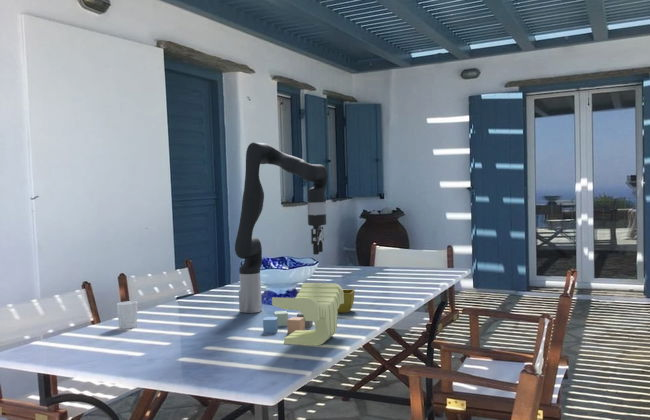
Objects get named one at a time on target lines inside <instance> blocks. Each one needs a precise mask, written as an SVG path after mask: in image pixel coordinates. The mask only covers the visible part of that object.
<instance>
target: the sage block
mask: <svg viewBox="0 0 650 420" xmlns="http://www.w3.org/2000/svg"><path fill="white" fill-rule="evenodd" d="M273 314H274V315H273V317H278V327H287V320H288V319H289V316H288V314H289V313H288V311H287V310H277V311H276V310H275V311H274V312H273Z"/></svg>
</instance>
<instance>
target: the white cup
mask: <svg viewBox="0 0 650 420" xmlns="http://www.w3.org/2000/svg"><path fill="white" fill-rule="evenodd" d="M116 308H117V309H116V311H117V319H118V323H119V325H118V327H119V329H120V330H121V329H122V330H129V329H134V328H136V327H138V325H137V324H138V323H137V322H138V301H137V300H129V301H128V300H126V301H120V302H118V303H116Z"/></svg>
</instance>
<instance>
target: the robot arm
mask: <svg viewBox="0 0 650 420" xmlns="http://www.w3.org/2000/svg"><path fill="white" fill-rule="evenodd" d="M245 153H246V154H245V173H244V174H245V175H244V184H243V186H244V187H243V194H242V199H241V211H240V218H239V224H238V229H237V234H236V237H235V242H234V252H235V254H236V257H238V258H239V259H243V260H244V261H243V263H242V265H240V267H239V269H238V270H239V290H238V304H239V305H238V307H239V308H238V309H239V313H243V314H253V313H254V314H255V313H259V312H262V310H263V307H262V306H263V305H262V286H261V285H262V281H261V279H262V278H261V268H262V263H263V261H262V258H263V256H262V255H263V254H262V253H263V252H262V251H263V248H262V243H261V241H260V240H259V238H258V237H256V236H253V232H254V227H255V225H256V223H257V222H258V220H259V218H260V216H261V214H262V211H263V208H264V200H265V192H264V188H263V185H262V183H261V180H260V165H273V166H277V167H280V168H281V169H282V170H284V171H285V172H287V173H290V174H293V175H294V176H298V177H299V178H301V179H302V180H304V181H306V182H312V183H313V184H312V187H309V188H308V190H307V224H308V226H312V228H311V229H310V231H311V232H310V234H311V237H310V238H311V245H312V252H313V253H312V254H313V255H319V254H320V253H322V252H323V251H324V250H323V249H324V248H323V245H324V244H323V243H324V240H325V239H324V238H325V237H324V226H326V225H327V206H326V193H325V192H326V188H327V184H328V178H329V173H328V170H327V167H326V166H324V165H323V164H312V163H308V162H307V161H306V160H304V159H302V158H299V157H297V156H294V155H291V154H287V153H284V152H282V151H280V150H279V149H276V148H275V147H273V146H272V145H271V144H269V143H264V142H256V141H254V142H251V143H250V144H249V145H248V146H247V148H246V152H245Z"/></svg>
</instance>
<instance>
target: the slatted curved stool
mask: <svg viewBox="0 0 650 420" xmlns="http://www.w3.org/2000/svg"><path fill="white" fill-rule="evenodd" d="M343 289H344V288H342V286H340V284H337V283H335V282H333V283H330V282H328V283H327V282H326V283H324V282H320V283H319V282H303V283H302V284H301V287H300V289H299V291H298V293H297V294H296V296H295V297H279V296H278V297H271V304H272V305H271V306H272V307H277V308H279V309H282V310H293V311H298V312H301V313H302V314H303V315H304V318H305V321H313V324H314V325H315V329H310V330H309V329H308V330H307V329H305V330H296V331H294V332H293V333H288V335H286V336H285V337H284V340H283V344H285V345H299V344H300V345H301V346H302V345H303V346H304V345H305V346H321V345H323V344H325V342H326V341H328V340H329V339H330V338H332V337H333V336H334V335H335V334H336V333H337V330H338V314H339V313H338V312H337V309H338V308H339V306H340V304H342V303H343V304H344V293H343Z"/></svg>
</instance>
